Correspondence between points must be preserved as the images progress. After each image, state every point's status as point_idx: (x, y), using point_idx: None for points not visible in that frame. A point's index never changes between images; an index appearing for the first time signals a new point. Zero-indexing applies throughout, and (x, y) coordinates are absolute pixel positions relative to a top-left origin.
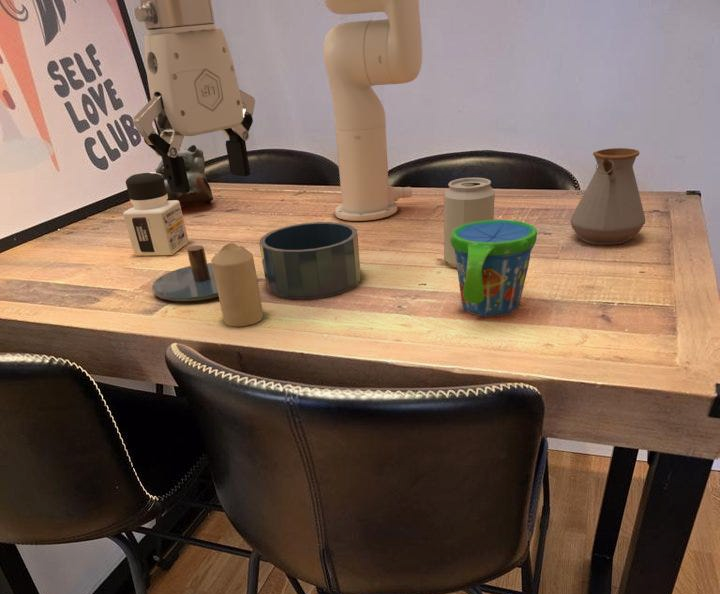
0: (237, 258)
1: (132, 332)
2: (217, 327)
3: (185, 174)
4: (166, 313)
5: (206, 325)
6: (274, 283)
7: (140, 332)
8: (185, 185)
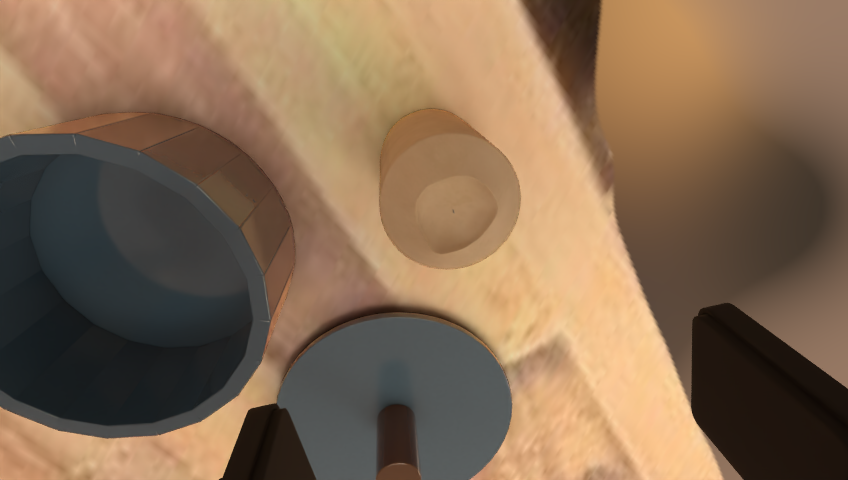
0: (463, 147)
1: (635, 280)
2: None
3: (774, 360)
4: (533, 323)
5: None
6: (287, 243)
7: (625, 268)
8: (749, 317)
